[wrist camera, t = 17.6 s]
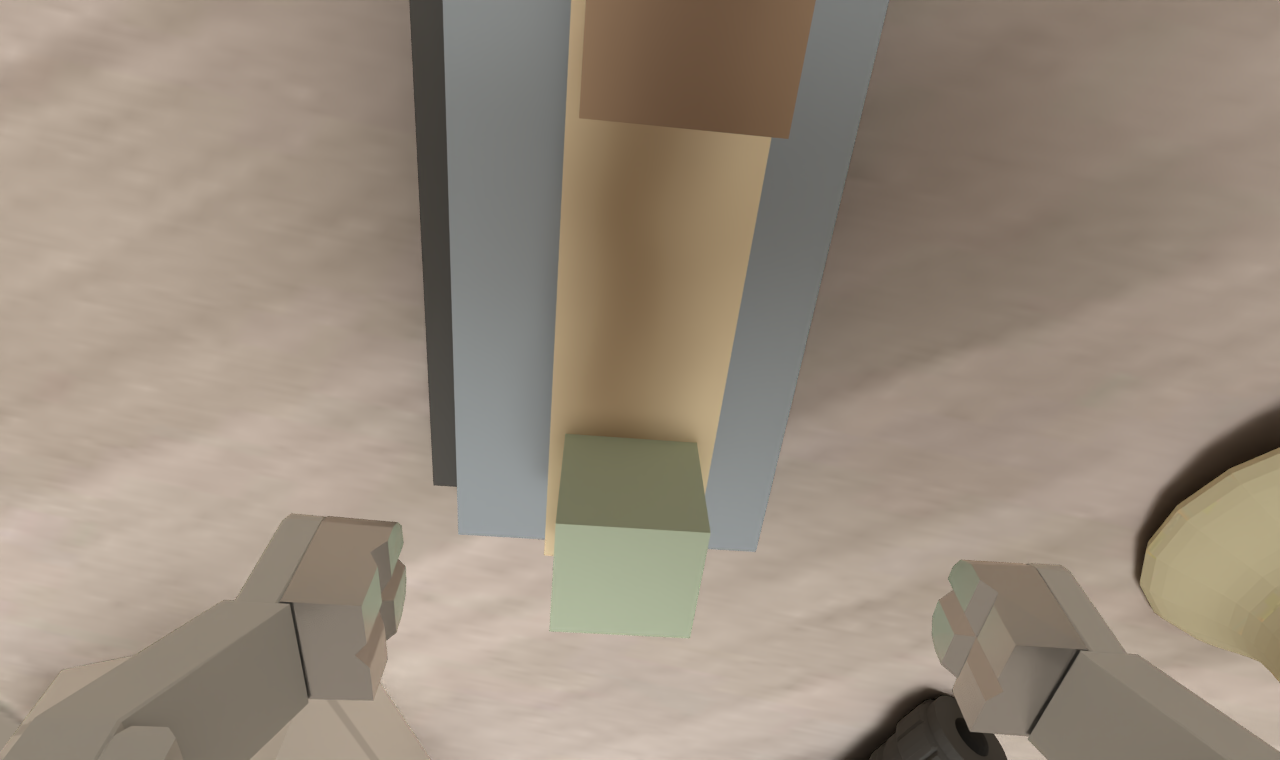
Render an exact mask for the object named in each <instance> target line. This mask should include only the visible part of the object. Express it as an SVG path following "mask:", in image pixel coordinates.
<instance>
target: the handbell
mask: <svg viewBox="0 0 1280 760" xmlns="http://www.w3.org/2000/svg"><path fill="white" fill-rule="evenodd" d="M1140 586H1141V588H1142V590H1143V592H1144V594H1145V596H1146V597H1147V599H1148V601H1149V603H1150V605H1151V607H1152V609H1153V611H1154V612H1155V613H1156V614H1157V615H1159V616H1160V617H1161V618H1163V619H1164V620H1166V621H1167V622H1169V623H1171V624H1172V625H1174V626H1176V627H1177V628H1179V629H1181V630H1183V631H1184V632H1186V633H1188V634H1189V635H1191V636H1193V637H1194V638H1196V639H1198V640H1200V641H1202V642H1205V643H1207V644H1210V645H1213V646H1216V647H1219V648H1222V649H1225V650H1228V651H1231V652H1235V653H1238V654H1241V655H1244V656H1247V657H1250V658H1252V659H1254V660H1257V661H1259V662H1261V663H1262V664H1263V665H1264V666H1265V667H1266V668H1267V669H1268V670H1269V671H1270V672H1271V673H1272V674H1273V675H1274V676H1275V678H1276V679H1277V680H1278V681H1279V682H1280V447H1279V448H1277V449H1275V450H1272V451H1270V452H1268V453H1265V454H1263V455H1261V456H1258V457H1256V458H1254V459H1251V460H1249V461H1246V462H1244V463H1242V464H1239V465H1237V466H1235V467H1232V468H1230V469H1228V470H1227V471H1226V472H1224V473H1223V474H1221V475H1220V476H1218V477H1217V478H1216V479H1214V480H1213V481H1211V482H1210V483H1208V484H1207V485H1205V486H1204V487H1203V488H1201V489H1200V490H1198V491H1197V492H1195V493H1194V494H1193V495H1191V496H1190V497H1188V498H1187V499H1185V500H1184V501H1182V502H1181V503H1180V504H1178V505H1177V506H1176V507H1175V509H1174V510H1173V511H1172V512H1171V514H1170V515H1169V516H1168V518H1167V519H1166V520H1165V521H1164V523H1163V524H1162V525H1161V526H1160V528H1159V529H1158V530H1157V531H1156V533H1155V534H1154V535H1153V536H1152V538H1151V539H1150V540H1149V541H1148V544H1147V549H1146V553H1145V559H1144V564H1143V569H1142V574H1141V579H1140Z"/></svg>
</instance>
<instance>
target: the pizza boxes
mask: <svg viewBox="0 0 1280 760" xmlns="http://www.w3.org/2000/svg"><path fill="white" fill-rule="evenodd" d="M133 656H134V655H133ZM133 656H128V657H123V658H118V659H113V660H108V661H103V662H98V663H93V664H88V665H83V666H78V667H73V668H68V669H63V670H61V672H60V673H59V674H58V676H57V677H56V678H55V680H54V681H53V682H52V684H51V685H50V686H49V688H48V689H47V690H46V692H45V693H44V694H43V696H42V697H41V698H40V700H39V701H38V702H37V704H36V705H35V706H34V708H33V709H32V710H31V712H30V713H29V714H28V715H27V717H26V718H25V719H24V721H23V722H22V723H21V725H20V726H19V727H18V729H17V730H16V731H15V733H14V734H13V735H12V737H11V738H10V739H9V741H8V742H7V743H6V745H5V746H4V747H3V749H2V750H1V752H0V760H3V759H4V757H5V756H6V755H7V753H8V752H9V751H10V749H11V748H12V747H13V745H14V744H15V743H16V742H17V740H18V739H19V738H20V736H21V735H22V734H23V732H24V731H25V730H26V728H27V727H28V726H29V724H30V723H31V722H32V721H33V719H34V718H35V717H36V716H38V715H39V714H41V713H43V712H44V711H46V710H47V709H49V708H51V707H52V706H54V705H55V704H57V703H59V702H60V701H62V700H63V699H65V698H67V697H68V696H70V695H72V694H73V693H75V692H76V691H78V690H80V689H81V688H83V687H84V686H86V685H88V684H89V683H91V682H92V681H94V680H96V679H97V678H99V677H100V676H102V675H104V674H105V673H107V672H109V671H110V670H112V669H113V668H115V667H117V666H118V665H120V664H121V663H123V662H125V661H126V660H128V659H129V658H131V657H133ZM308 700H309V703H308V704H307V705H306V706H305V707H304V708H303V709H302V710H301V711H300V712H299V713H298V714H297V715H296V716H295V717H294V718H293V719H292V720H291V721H289V722H288V723H287V724H286V725H285V726H284V727H283V728H282V729H281V730H280V731H279V732H278V733H277V734H276V735H275V736H274V737H273V738H272V739H271V740H270V741H269V742H268V743H266V744H265V745H264V746H263V747H262V748H261V749H260V750H259V751H258V752H257V753H256V754H255V755H254V756H253V757H252V758H251V759H250V760H431V759H430V757H429V756H428V754H427V753H426V751H425V750H424V748H423V747H422V745H421V744H420V742H419V741H418V739H417V738H416V736H415V735H414V733H413V732H412V730H411V729H410V727H409V725H408V724H407V722H406V721H405V719H404V718H403V716H402V715H401V713H400V712H399V710H398V709H397V707H396V706H395V704H394V703H393V701H392V700H391V698H390V697H389V695H388V694H387V692H386V691H385V689H384V688H383V686H382V684H381V683H379V686H378V689H377V692H376V695H375V698H374V701H366V700H324V699H308Z"/></svg>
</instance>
